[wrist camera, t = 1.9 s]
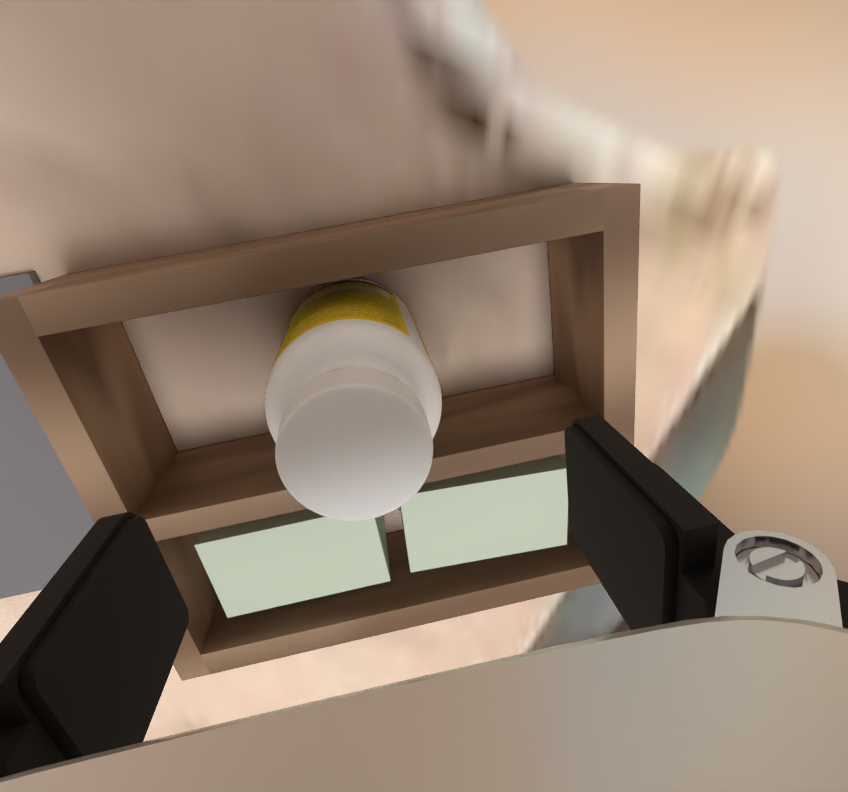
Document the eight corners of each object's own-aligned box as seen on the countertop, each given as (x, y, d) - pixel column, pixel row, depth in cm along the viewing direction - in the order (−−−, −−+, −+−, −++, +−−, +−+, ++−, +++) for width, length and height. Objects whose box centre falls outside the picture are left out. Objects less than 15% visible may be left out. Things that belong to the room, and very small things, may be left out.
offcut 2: (390, 441, 24) (399, 496, 19) (531, 419, 24) (568, 467, 20) (400, 509, 25) (410, 572, 21) (532, 486, 26) (566, 544, 22)
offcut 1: (221, 480, 23) (194, 545, 19) (367, 449, 24) (371, 506, 19) (247, 545, 25) (227, 617, 21) (383, 515, 25) (390, 580, 21)
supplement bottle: (261, 331, 20) (193, 447, 12) (362, 249, 20) (373, 305, 11) (346, 420, 23) (344, 575, 14) (440, 348, 22) (502, 464, 13)
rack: (65, 274, 19) (-26, 304, 14) (573, 182, 20) (640, 183, 15) (211, 591, 25) (181, 680, 21) (582, 508, 27) (630, 576, 22)
